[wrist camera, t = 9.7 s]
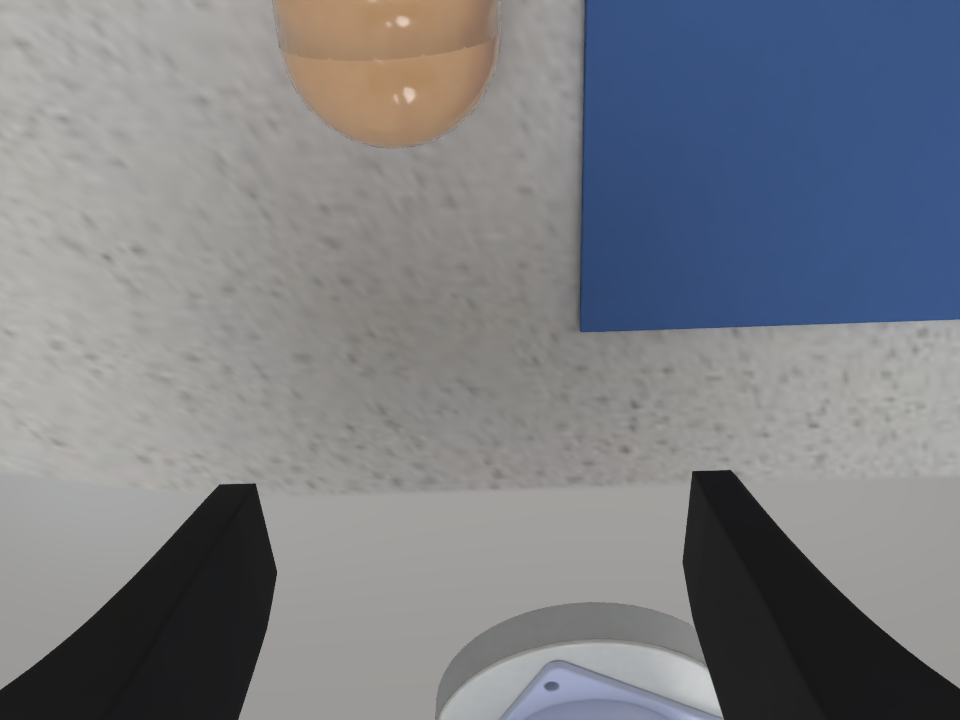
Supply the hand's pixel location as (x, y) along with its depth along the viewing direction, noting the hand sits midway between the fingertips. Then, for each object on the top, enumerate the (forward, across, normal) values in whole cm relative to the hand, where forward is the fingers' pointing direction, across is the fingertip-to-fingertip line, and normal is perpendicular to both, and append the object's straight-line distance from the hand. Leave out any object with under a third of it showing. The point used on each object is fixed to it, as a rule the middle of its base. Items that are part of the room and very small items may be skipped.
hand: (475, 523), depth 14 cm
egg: (+9, +3, -7) cm, 12 cm away
